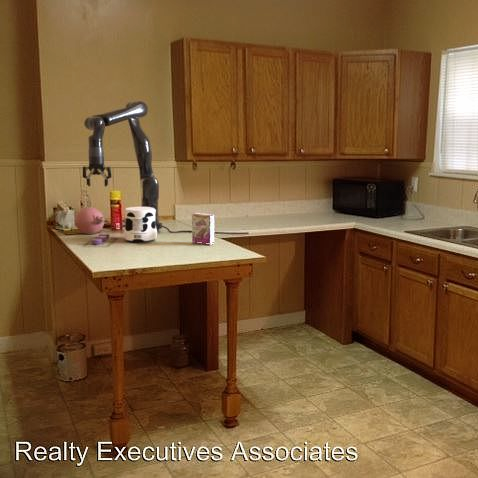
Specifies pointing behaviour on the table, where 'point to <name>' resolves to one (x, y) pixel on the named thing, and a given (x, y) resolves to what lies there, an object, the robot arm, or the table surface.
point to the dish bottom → (101, 238)
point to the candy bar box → (202, 228)
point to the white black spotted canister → (140, 224)
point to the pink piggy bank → (89, 220)
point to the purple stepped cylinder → (96, 241)
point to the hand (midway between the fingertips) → (97, 186)
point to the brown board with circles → (102, 242)
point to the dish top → (105, 235)
